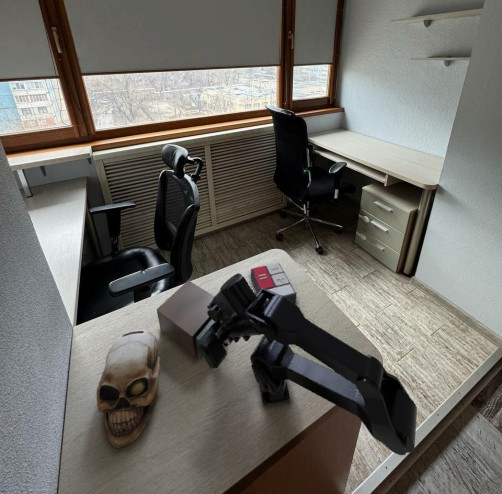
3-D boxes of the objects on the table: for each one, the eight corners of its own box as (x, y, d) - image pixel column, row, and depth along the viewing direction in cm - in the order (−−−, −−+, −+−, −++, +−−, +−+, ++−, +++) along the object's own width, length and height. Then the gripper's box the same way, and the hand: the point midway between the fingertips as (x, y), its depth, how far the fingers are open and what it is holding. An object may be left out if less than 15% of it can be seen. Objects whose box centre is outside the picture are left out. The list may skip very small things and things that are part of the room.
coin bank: (116, 458, 53) (102, 413, 49) (89, 393, 65) (76, 352, 61) (184, 392, 64) (177, 351, 60) (150, 346, 76) (142, 309, 72)
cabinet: (223, 323, 80) (222, 301, 76) (194, 359, 70) (192, 336, 67) (190, 301, 87) (188, 280, 83) (160, 331, 77) (156, 309, 74)
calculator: (279, 260, 98) (296, 292, 84) (278, 270, 99) (296, 302, 86) (250, 267, 95) (263, 301, 82) (250, 276, 97) (263, 311, 83)
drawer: (230, 327, 77) (229, 310, 75) (204, 362, 69) (202, 343, 66) (195, 304, 84) (193, 287, 82) (168, 333, 76) (165, 315, 73)
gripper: (250, 266, 69) (219, 279, 79) (200, 323, 55) (170, 330, 65) (276, 302, 69) (241, 311, 78) (232, 370, 54) (196, 370, 64)
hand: (214, 327), depth 71 cm, fingers closed, pressing on drawer
